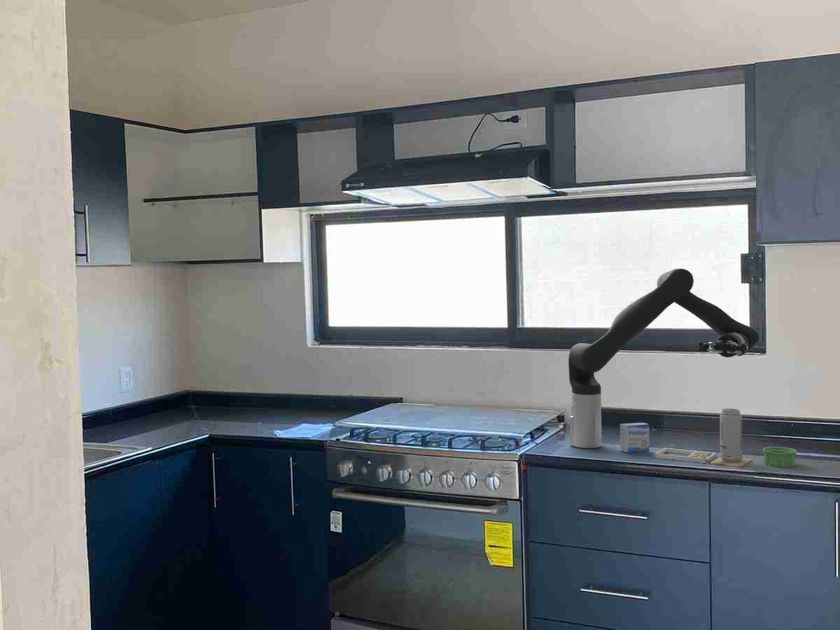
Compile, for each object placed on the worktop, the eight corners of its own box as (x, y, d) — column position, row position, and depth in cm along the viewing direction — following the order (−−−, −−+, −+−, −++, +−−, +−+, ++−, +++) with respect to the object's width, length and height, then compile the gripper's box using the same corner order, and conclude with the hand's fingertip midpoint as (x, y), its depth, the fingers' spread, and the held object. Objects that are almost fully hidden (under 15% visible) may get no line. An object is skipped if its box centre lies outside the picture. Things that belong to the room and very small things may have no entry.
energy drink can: (718, 458, 247) (718, 408, 247) (739, 458, 246) (739, 408, 246) (722, 462, 241) (722, 411, 241) (743, 463, 240) (743, 411, 240)
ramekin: (757, 465, 240) (757, 450, 240) (770, 460, 246) (770, 445, 246) (789, 469, 233) (789, 454, 233) (801, 464, 240) (801, 449, 240)
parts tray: (654, 457, 251) (654, 453, 251) (665, 451, 260) (665, 447, 260) (706, 463, 243) (706, 458, 242) (716, 456, 251) (716, 452, 251)
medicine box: (626, 453, 258) (626, 425, 258) (619, 450, 262) (619, 423, 262) (649, 451, 260) (649, 424, 260) (642, 448, 264) (642, 421, 264)
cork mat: (710, 464, 242) (710, 462, 242) (720, 456, 251) (720, 455, 251) (742, 467, 237) (742, 466, 237) (751, 460, 246) (751, 458, 246)
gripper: (708, 332, 274) (693, 336, 261) (753, 333, 266) (740, 337, 253) (708, 355, 275) (693, 359, 261) (753, 357, 267) (740, 361, 253)
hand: (716, 348), depth 257 cm, fingers open, 8 cm apart
